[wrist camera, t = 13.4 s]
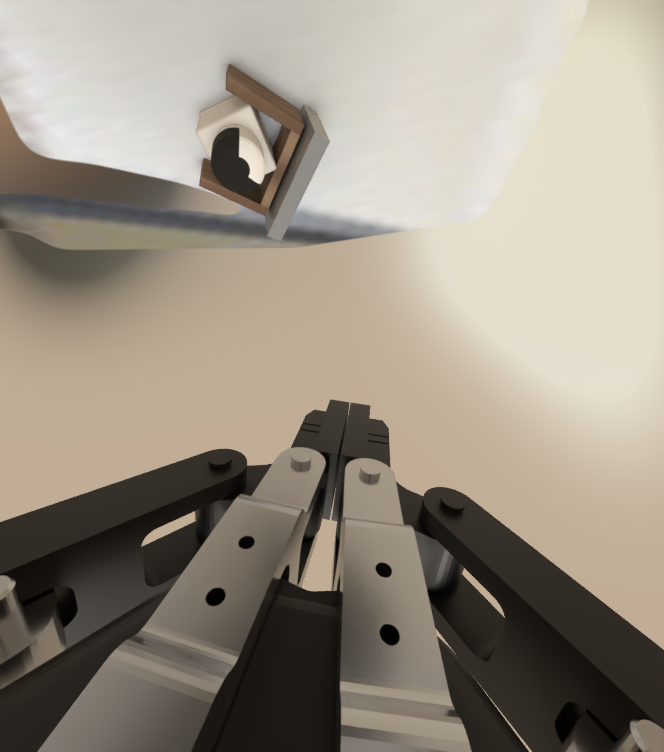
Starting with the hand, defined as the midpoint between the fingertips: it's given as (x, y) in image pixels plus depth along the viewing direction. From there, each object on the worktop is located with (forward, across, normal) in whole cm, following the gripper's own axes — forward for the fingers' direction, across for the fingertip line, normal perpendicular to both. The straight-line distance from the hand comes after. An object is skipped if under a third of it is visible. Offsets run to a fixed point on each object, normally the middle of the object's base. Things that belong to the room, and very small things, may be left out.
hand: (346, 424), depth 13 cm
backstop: (+44, +15, -17) cm, 50 cm away
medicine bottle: (+40, +21, -20) cm, 50 cm away
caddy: (+41, +20, -19) cm, 49 cm away
